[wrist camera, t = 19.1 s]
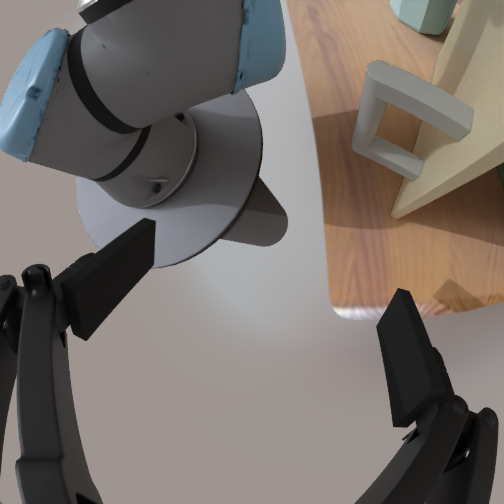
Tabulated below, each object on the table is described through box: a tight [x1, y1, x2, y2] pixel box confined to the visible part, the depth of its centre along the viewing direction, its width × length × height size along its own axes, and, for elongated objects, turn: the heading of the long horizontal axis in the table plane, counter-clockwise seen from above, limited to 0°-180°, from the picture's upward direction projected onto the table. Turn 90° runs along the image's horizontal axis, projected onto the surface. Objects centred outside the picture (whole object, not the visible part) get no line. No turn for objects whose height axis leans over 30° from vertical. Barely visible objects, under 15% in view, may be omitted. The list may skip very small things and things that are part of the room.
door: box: [351, 0, 504, 219], centre depth 17 cm, size 8×26×24 cm, turn 154°
